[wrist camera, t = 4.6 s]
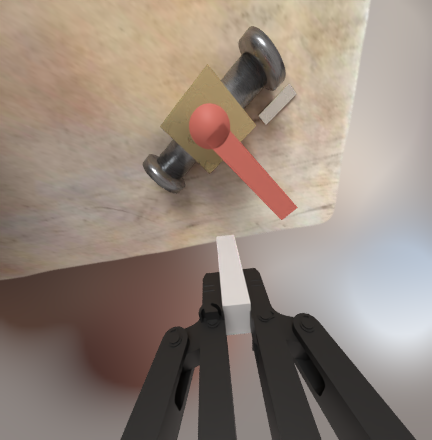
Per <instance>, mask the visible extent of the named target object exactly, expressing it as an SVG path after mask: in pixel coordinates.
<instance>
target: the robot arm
mask: <svg viewBox="0 0 432 440" xmlns="http://www.w3.org/2000/svg"><path fill="white" fill-rule="evenodd" d="M216 238H217V249H218V261H219V272H216V273H206V275H205V276H204V278H203V300H202V303H203V304H202V306H201V308H200V310H199V317H200V319H199V321H198V322H197V323H195V324H194V325H192V326H190V327H188V328H185V329H184V328H182V327H173V328H171V329H170V330H168V331H167V332H166V333H165V335H164V337H163V339H162V341H161V344H160V346H159V349H158V351H157V353H156V356H155V358H154V360H153V363H152V365H151V368H150V370H149V372H148V375H147V377H146V380H145V382H144V384H143V387H142V389H141V392H140V394H139V397H138V399H137V401H136V404H135V406H134V408H133V411H132V413H131V416H130V418H129V420H128V423H127V425H126V428H125V430H124V433H123V435H122V438H121V440H177V437H178V433H179V430H180V425H181V421H182V417H183V413H184V409H185V405H186V401H187V397H188V393H189V388H190V384H191V380H192V376H193V372H194V368H195V367H197V366H198V365H200V372H199V417H198V440H237V436H236V426H235V416H234V406H233V395H232V385H231V375H230V365H229V355H228V345H227V335H235V334H245V333H250V332H251V333H252V339H253V340H252V344H253V345H252V346H253V348H252V349H253V351H254V353H255V358H256V363H257V368H258V373H259V378H260V382H261V387H262V392H263V397H264V402H265V407H266V412H267V417H268V422H269V427H270V431H271V436H272V440H321V437H320V434H319V432H318V429H317V426H316V423H315V420H314V417H313V415H312V412H311V409H310V406H309V404H308V401H307V398H306V395H305V392H304V389H303V387H302V384H301V381H300V378H299V375H298V373H297V370H296V367H295V365H296V366H297V368H298V370H299V372H300V373H301V375H302V377H303V379H304V380H305V382H306V384H307V385H308V387H309V389H310V391H311V392H312V394H313V396H314V398H315V399H316V401H317V402H318V404H319V406H320V408H321V410H322V411H323V413H324V414H325V416H326V418H327V420H328V422H329V423H330V425H331V427H332V428H333V430H334V432H335V434H336V435H337V437H338V439H339V440H416V439H415V438H414V437H413V435H412V434H411V433H410V432H409V430H408V429H407V428H406V427H405V426H404V425H403V423H402V422H401V421H400V420H399V418H398V417H397V416H396V415H395V413H394V412H393V411H392V410H391V409H390V407H389V406H388V405H387V404H386V403H385V402H384V400H383V399H382V398H381V397H380V395H379V394H378V393H377V392H376V391H375V389H374V388H373V387H372V386H371V384H370V383H369V382H368V381H367V380H366V378H365V377H364V376H363V375H362V374H361V372H360V371H359V370H358V369H357V367H356V366H355V365H354V364H353V363H352V361H351V360H350V359H349V358H348V357H347V356H346V354H345V353H344V352H343V350H342V349H341V348H340V347H339V346H338V344H337V343H336V342H335V341H334V340H333V338H332V337H331V336H330V335H329V334H328V332H327V331H326V330H325V329H324V328H323V326H322V325H321V324H320V323H319V321H318V320H316V319H315V318H314V317H313V316H311V315H309V314H305V313H300V314H297V315H296V316H295V317H290V316H285V315H282V314H280V313H278V312H276V311H275V310H274V309H273V308H272V306H271V304H270V301H269V299H268V296H267V293H266V290H265V287H264V285H263V282H262V279H261V276H260V273H259V272H258V271H257V270H256V269H255V268H250V269H242V266H241V261H240V257H239V253H238V249H237V245H236V241H235V237H234V235H227V236H217V237H216ZM294 363H295V364H294Z"/></svg>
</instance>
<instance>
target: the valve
mask: <svg viewBox="0 0 432 440" xmlns="http://www.w3.org/2000/svg"><path fill="white" fill-rule="evenodd" d="M239 49H240V52H241V56H240V58H239V59H238V60H237V61H236V63H235V64H234V65H233V66H232V67H231V69H230V70H229V71H228V72H227V74H226V75H225V76H224V77H223V79H222V80H220V79H219V78H218V77H217V75H216V74H215V73H214V72H213V70H212V69H211V68H210V67H209V65H208V64H207V65H206V67H205V68H204V69H203V71H202V72H201V73H200V75H199V76H198V77H197V79H196V80H195V81H194V82H193V84H192V85H191V86H190V88H189V89H188V90H187V92H186V93H185V94H184V96H183V97H182V98H181V100H180V101H179V102H178V103H177V105H176V106H175V107H174V109H173V110H172V111H171V113H170V114H169V115H168V117H167V118H166V119H165V121H164V122H163V123H162V124H161V126H160V127H161V128H162V129H163V130H164V131H165V132H166V133H167V134H169V135H170V136H171V137H172V138H173V140H172V141H171V143H170V144H169V145H168V146H167V148H166V149H165V150H164V151H163V153H162V154H161V155H160V156H159V157H158V156H156V155H153V154H150V155H149V156H148V157H147V158H146V159H145V161H144V162H143V167H144V169H145V171H146V172H147V174H148V175H149V176H150V177H151V178H152V179H153V180H154V181H155V182H156V183H157V184H158V185H160V186H161V187H162V188H164V189H165V190H167V191H169V192H172V193H176V194H177V193H179V192H180V191H181V190H182V189H183V188H184V187H185V181H184V179H183V178H182V177H183V176H184V175H185V174H186V172H187V171H188V170H189V169H190V168H191V167H192V166H193V165H194V164H195V162H196V161H197V162H198V163H199V164H200V165H201V166H202V167H203V168H204V169H205V170H206V171H207V172H208V173H209V174H210V173H211V172H212V171H213V170H214V169H215V168H216V167H217V166H218V165H219V164H220V163H221V162H222V161H223V159H222V158H221V157H220V156H219V155H218V154H217V153H216V152H215V151H214V150H213V149H204V148H202V147H200V146H198V145H197V144H196V143H195V142H194V140H193V139H192V137H191V134H190V131H189V121H190V118H191V115H192V113H193V112H194V111H195V109H196V108H198V107H199V106H201V105H203V104H207V103H211V104H216V105H218V106H220V107H221V108H222V109H223V110H224V111H225V112H226V113H227V115H228V118H229V121H230V131H231V132H232V133H233V134H234V136H235V137H236V138H237V139H238V140H239V141H240V142H241V141H242V140H243V139H244V138H245V137H246V136H247V135H248V134H249V133H250V132H251V131H252V130H253V129H254V128H255V127H256V124H255V123H254V122H253V121H252V119H251V118H250V117H249V116H248V114H247V113H246V112H245V111H244V108H245V107H246V106H247V105H248V104H249V103H250V102H251V101H252V99H253V98H254V97H255V96H256V95H257V94H258V93H259V92H260V91H261V90H262V88H263V87H265V88H266V89H268V90H270V91H274V90H275V89H276V88H277V87H278V86H279V85H280V84H281V83H282V82H283V81H284V80H285V76H286V73H285V67H284V64H283V61H282V58H281V56H280V54H279V52H278V50H277V49H276V47H275V45H274V44H273V43H272V41H271V40H270V39H269V37H268V36H267V35H266V34H265V33H264V32H263V31H261V30H260V29H258V28H257V27H254V26H251V27H249V28H248V30H247V31H246V32H245V33H244V35H243V36H242V37H241V39H240V40H239ZM295 95H296V92H295V91H294V89H293V88H292V86H291V84H290V83H289V84H288V85H287V86H286V87H285V88H284V89H283V90H282V91H281V92H280V93H279V94H278V95H277V96H276V97H275V98H274V99H273V100H272V102H271V103H270V104H269V105H268V106H267V107H266V108H265V109H264V110H263V111H262V112H261V113H260V114H259V115H258V116H259V117H260V119H261V120H262V121H263V123H264V124H265V125H267V124H268V122H269V121H270V120H271V119H272V118H273V117H274V116H275V115H276V114H277V113H278V112H279V111H280V110H281V109H282V108H283V107H284V106H285V105H286V104H287V103H288V102H289V101H290V100H291V99H292V98H293V97H294V96H295Z"/></svg>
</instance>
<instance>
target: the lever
mask: <svg viewBox="0 0 432 440" xmlns="http://www.w3.org/2000/svg"><path fill="white" fill-rule="evenodd" d="M189 131H190V134H191V137H192V139H193V140H194V142H195V143H196V144H197V145H198V146H200V147H202V148H204V149H213V150H214V151H215V152H216V153H217V154H218V155H219V156H220V157H221V158H222V159H223V160H224V161H225V162H226V163H227V164H228V165H229V167H230V168H231V169H232V170H233V171H234V172H235V173H236V174H237V175H238V176H239V177H240V178H241V179H242V180H243V181H244V182H245V183H246V184H247V185H248V186H249V187H250V188H251V189H252V190H253V191H254V192H255V193H256V194H257V195H258V196H259V197H260V198H261V200H262V201H263V202H264V203H265V204H266V205H267V206H268V207H269V208H270V209H271V210H272V211H273V212H274V213H275V214H276V215H277V216H278V217H279V218H280V219H281V220H282V219H284V218H285V217H286V216H287V215H289V214H290V213H291V212H293V211H294V210H295V209H296V208H298V207H297V206H296V205H295V204H294V203H293V202H292V201H291V199H290V198H289V197H288V196H287V195H286V194H285V193H284V191H283V190H282V189H281V188H280V187H279V186H278V185H277V183H276V182H275V181H274V180H273V179H272V178H271V177H270V176H269V174H268V173H267V172H266V171H265V170H264V169H263V168H262V166H261V165H260V164H259V163H258V162H257V161H256V160H255V158H254V157H253V156H252V155H251V154H250V153H249V152H248V150H247V149H246V148H245V147H244V146H243V145H242V144H241V142H240V141H239V140H238V139H237V138H236V137H235V136H234V134H233V133H232V132H231V131H230V121H229V118H228V115H227V113H226V112H225V111H224V110H223V109H222V108H221V107H220V106H218V105H216V104H211V103H207V104H203V105H201V106H199V107H198V108H196V109H195V111H194V112H193V113H192V115H191V118H190V121H189Z"/></svg>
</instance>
